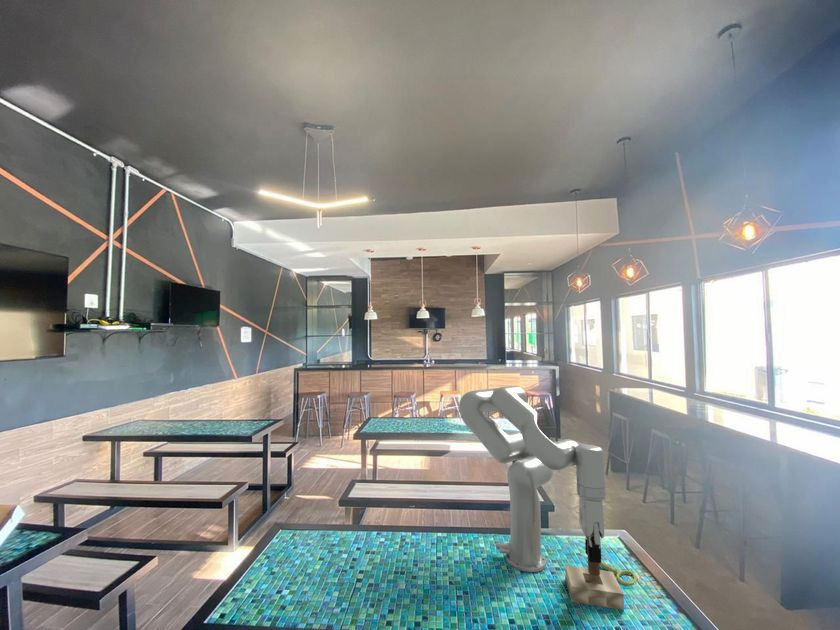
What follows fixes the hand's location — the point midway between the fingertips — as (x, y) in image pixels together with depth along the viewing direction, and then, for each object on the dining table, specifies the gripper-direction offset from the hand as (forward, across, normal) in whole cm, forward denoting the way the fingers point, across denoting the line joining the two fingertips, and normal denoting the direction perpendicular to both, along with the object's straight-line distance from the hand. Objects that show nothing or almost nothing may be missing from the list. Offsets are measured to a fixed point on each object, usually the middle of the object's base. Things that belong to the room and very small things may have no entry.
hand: (593, 557), depth 104 cm
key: (+10, -12, +9) cm, 18 cm away
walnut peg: (+4, 0, 0) cm, 4 cm away
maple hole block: (+10, 0, 0) cm, 10 cm away
